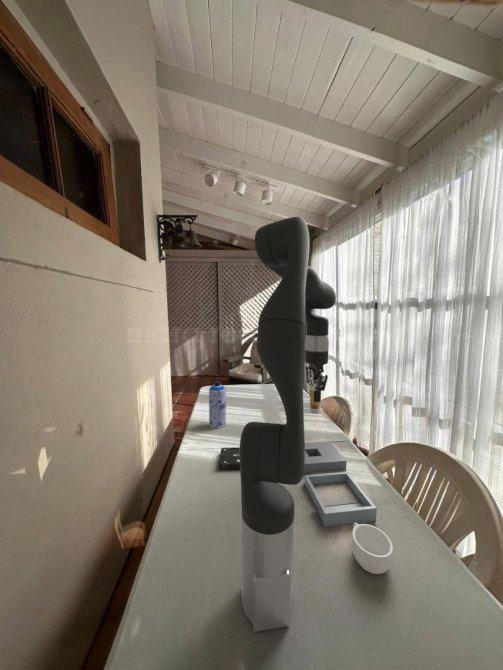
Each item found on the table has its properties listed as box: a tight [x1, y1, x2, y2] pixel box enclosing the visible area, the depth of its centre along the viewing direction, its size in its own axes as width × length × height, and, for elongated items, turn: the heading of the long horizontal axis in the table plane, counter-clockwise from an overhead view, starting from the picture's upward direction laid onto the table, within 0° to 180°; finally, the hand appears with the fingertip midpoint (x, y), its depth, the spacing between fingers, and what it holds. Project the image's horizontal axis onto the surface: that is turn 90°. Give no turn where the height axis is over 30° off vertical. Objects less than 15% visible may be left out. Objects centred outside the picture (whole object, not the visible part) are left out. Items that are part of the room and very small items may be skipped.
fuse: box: [309, 384, 321, 414], centre depth 87 cm, size 3×3×9 cm
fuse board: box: [303, 441, 348, 474], centre depth 89 cm, size 12×18×4 cm, turn 98°
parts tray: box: [303, 471, 378, 528], centre depth 72 cm, size 15×14×4 cm
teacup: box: [351, 523, 394, 575], centre depth 56 cm, size 10×8×5 cm
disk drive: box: [218, 447, 240, 471], centre depth 91 cm, size 10×3×15 cm
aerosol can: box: [208, 380, 227, 430], centre depth 117 cm, size 8×8×20 cm
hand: (314, 399), depth 87 cm, fingers closed on fuse, 3 cm apart
